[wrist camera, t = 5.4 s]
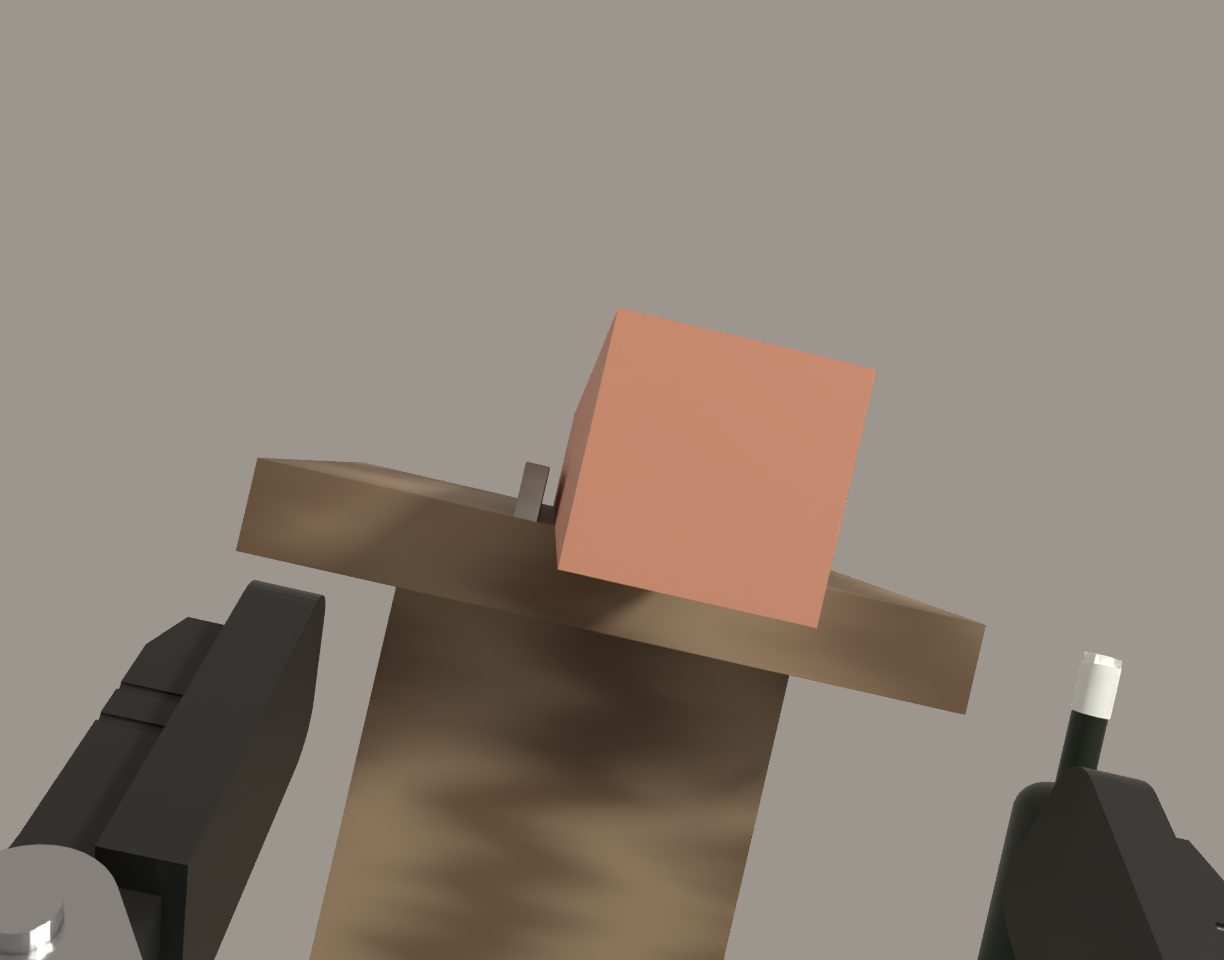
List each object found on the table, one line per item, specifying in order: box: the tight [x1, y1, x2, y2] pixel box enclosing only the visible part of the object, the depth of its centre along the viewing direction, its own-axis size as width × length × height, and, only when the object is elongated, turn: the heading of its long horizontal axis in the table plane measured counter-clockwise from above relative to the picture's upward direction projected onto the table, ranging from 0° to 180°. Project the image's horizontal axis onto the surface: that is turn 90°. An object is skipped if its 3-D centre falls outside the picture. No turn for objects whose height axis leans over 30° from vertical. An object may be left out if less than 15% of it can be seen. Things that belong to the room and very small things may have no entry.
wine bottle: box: [978, 651, 1122, 960], centre depth 66 cm, size 6×6×30 cm
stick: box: [553, 308, 876, 628], centre depth 27 cm, size 3×26×3 cm, turn 3°
